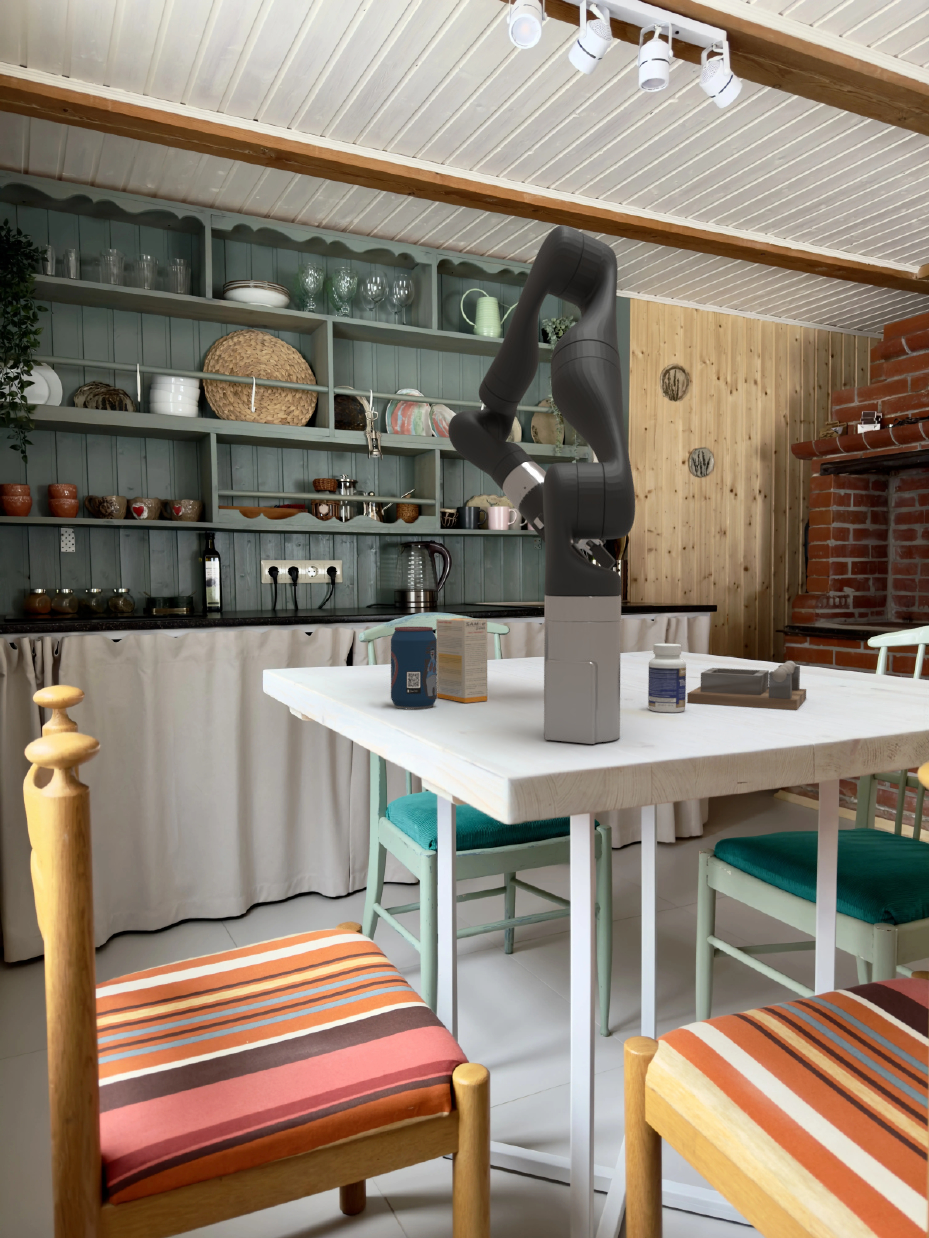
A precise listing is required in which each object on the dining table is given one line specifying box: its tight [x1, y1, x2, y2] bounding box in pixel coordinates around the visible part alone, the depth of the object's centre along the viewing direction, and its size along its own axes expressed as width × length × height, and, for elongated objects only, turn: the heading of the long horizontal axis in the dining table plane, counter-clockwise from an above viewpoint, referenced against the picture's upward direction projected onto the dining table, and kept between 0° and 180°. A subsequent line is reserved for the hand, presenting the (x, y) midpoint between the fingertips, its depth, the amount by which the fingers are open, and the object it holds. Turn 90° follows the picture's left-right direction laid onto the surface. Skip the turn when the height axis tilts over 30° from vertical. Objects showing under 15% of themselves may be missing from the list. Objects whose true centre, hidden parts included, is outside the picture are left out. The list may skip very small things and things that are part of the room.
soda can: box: [390, 626, 437, 710], centre depth 128 cm, size 7×7×12 cm
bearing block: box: [686, 660, 807, 711], centre depth 134 cm, size 14×16×6 cm
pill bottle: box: [647, 643, 687, 713], centre depth 124 cm, size 5×5×10 cm
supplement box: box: [435, 617, 488, 704], centre depth 135 cm, size 8×5×13 cm, turn 35°
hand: (598, 566), depth 131 cm, fingers open, 8 cm apart
